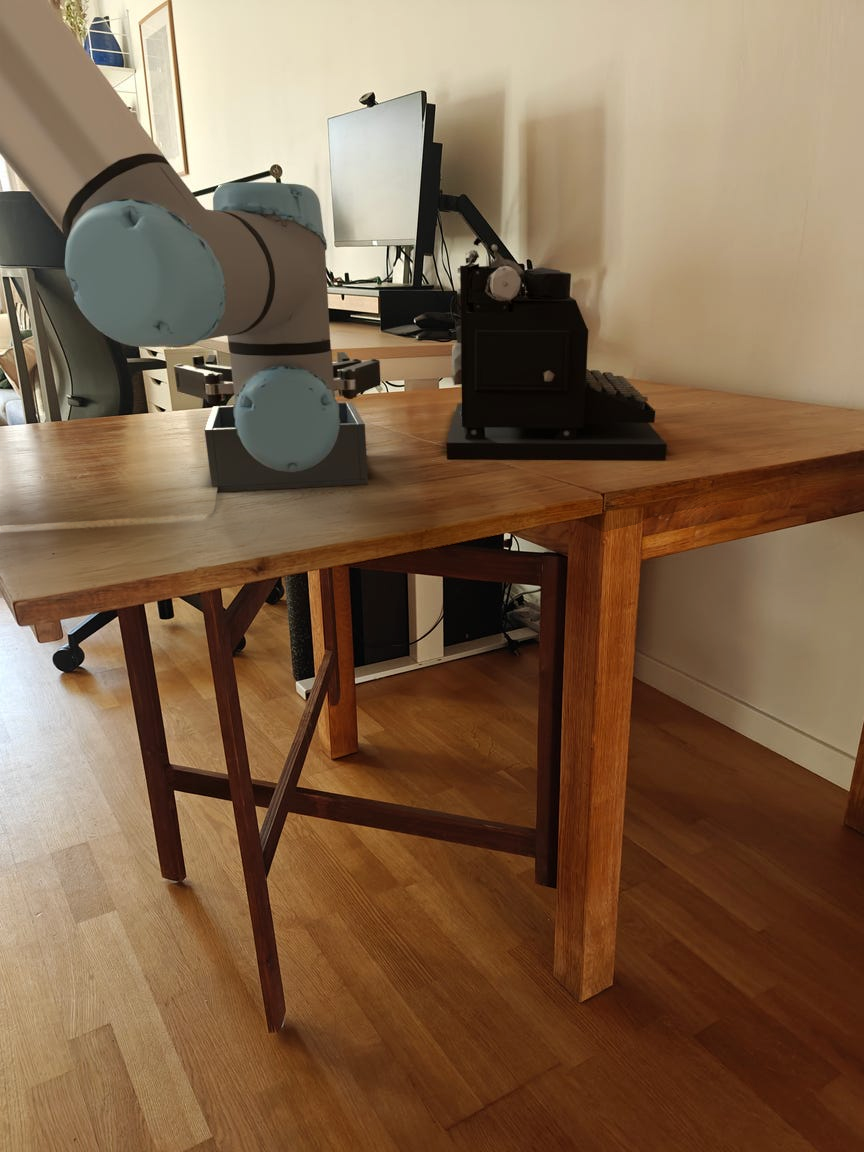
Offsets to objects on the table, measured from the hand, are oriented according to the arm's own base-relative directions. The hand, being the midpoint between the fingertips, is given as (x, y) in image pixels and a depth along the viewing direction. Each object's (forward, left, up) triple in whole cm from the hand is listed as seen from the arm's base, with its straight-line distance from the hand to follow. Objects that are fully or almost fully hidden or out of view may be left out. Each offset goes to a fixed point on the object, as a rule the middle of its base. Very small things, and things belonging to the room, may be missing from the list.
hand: (278, 366), depth 94 cm
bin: (0, +2, -12) cm, 12 cm away
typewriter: (+36, +17, -12) cm, 42 cm away
